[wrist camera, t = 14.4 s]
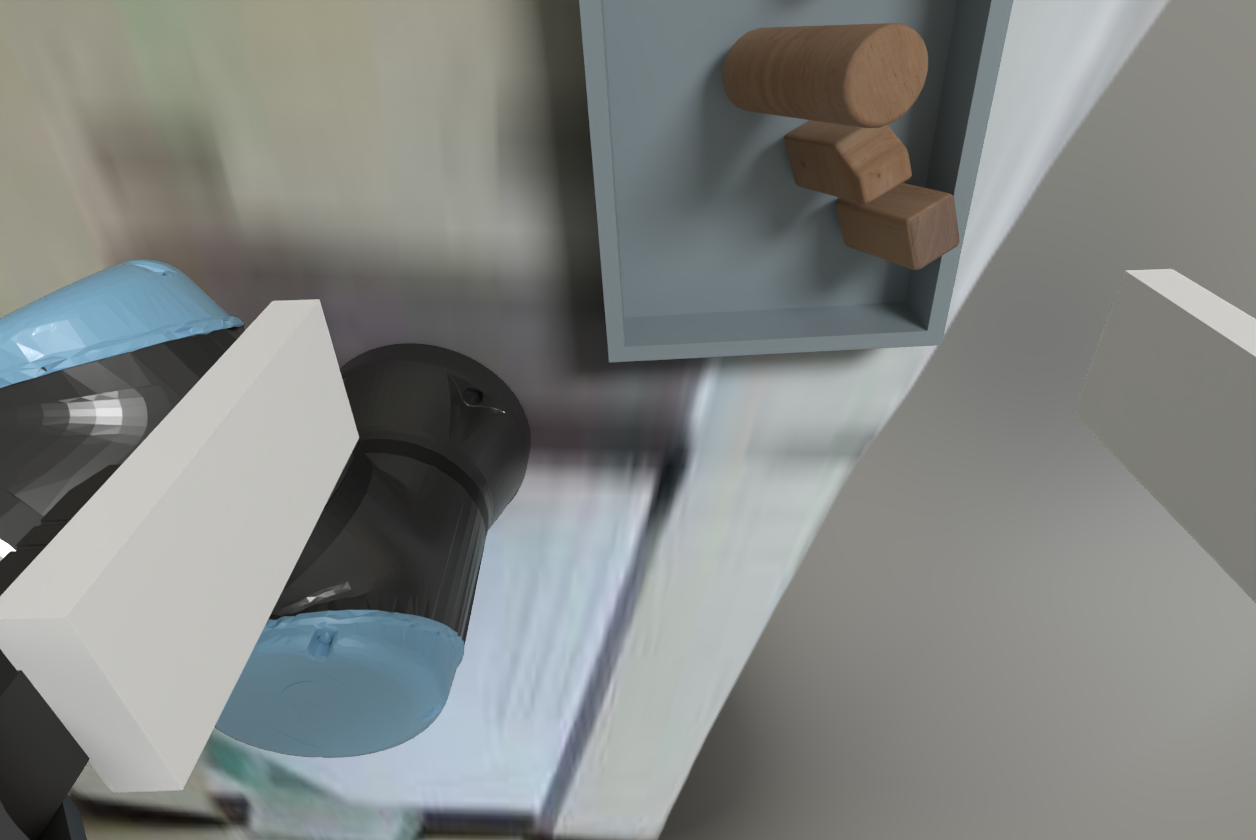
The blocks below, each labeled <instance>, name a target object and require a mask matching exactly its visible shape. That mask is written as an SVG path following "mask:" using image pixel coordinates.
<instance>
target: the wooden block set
mask: <svg viewBox="0 0 1256 840" xmlns="http://www.w3.org/2000/svg"><path fill="white" fill-rule="evenodd" d="M927 71H928V53H927V49H926V46H925V43H924V40H923V39H922V38H921V37H920V35H919V34H918V33H917V31H915V30H914V29H912V28H910V27H909V26H907V25H905V24H900V23H881V24H853V25H824V26H796V27H768V28H758V29H755V30H752V31H749V32H747V33H746V34H745V35H743V36H742V37H741V38H739V39H738V40H737V41H736V43H735V44H734V45H733V47H732V48H731V49H730V51H729V52H728V55H727V57H726V59H725V62H724V65H723V72H722V81H723V88H724V91H725V93H726V95H727V97H728V99H729V100H730V101H731V102H732V103H733V104H734V105H735V106H736V107H737V108H740V109H743V110H745V111H749V112H756V113H763V114H770V115H777V116H784V117H791V118H798V119H805V120H810V121H808V122H806V123H805V124H803V125H801V126H799V127H798V128H796V129H794V130H792V131H791V132H789V133H787V134H786V135H785V136H784V142H785V146H786V149H787V153H788V157H789V161H790V165H791V169H792V172H793V176H794V180H795V183H796V185H797V186H799V187H803V188H806V189H810V190H813V191H817V192H821V193H824V194H828V195H832V196H835V197H839V199H837V200H836V203H835V205H836V210H837V214H838V218H839V222H840V227H841V231H842V235H843V240H844V243H845V244H846V246H848V247H850V248H853V249H856V250H859V251H862V252H864V253H867V254H870V255H873V256H876V257H878V258H881V259H884V260H887V261H890V262H892V263H895V264H898V265H901V266H904V267H906V268H909V269H912V270H919V269H921V268H923V267H925V266H926V265H928V264H929V263H931V262H933V261H934V260H936V259H937V258H939V257H941V256H942V255H944V254H945V253H947V252H949V251H950V250H952V249H953V248H955V247H957V246H958V244H959V242H960V239H959V231H958V224H957V216H956V208H955V201H954V197H953V195H952V194H950V193H946V192H941V191H937V190H932V189H928V188H923V187H919V186H914V185H910V184H905V183H903V182H905V181H906V180H908V179H910V177H911V175H912V172H911V166H910V160H909V154H908V151H907V149H906V147H905V146H904V144H903V143H902V142H901V141H900V139H899V138H898V137H897V136H896V135H895V133H894V132H893V131H892V130H891V128H890V127H889V126H888V124H890V123H893V122H895V121H896V120H897V119H899V118H900V117H901V116H903V115H904V114H905V113H906V112H907V111H908V110H909V109H910V108H911V106H912V105H913V104H914V103H915V101H916V100H917V98H918V96H919V94H920V92H921V90H922V88H923V86H924V84H925V80H926V75H927Z"/></svg>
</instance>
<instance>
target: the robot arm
mask: <svg viewBox="0 0 1256 840" xmlns="http://www.w3.org/2000/svg"><path fill="white" fill-rule="evenodd" d="M244 325H245V324H244V323H243V322H242V321H241V320H240V319H238V318H237V317H233V316H230V315H229V314H228V313H227V312H225V311H224V310H223V309H222V308H221V307H220V306H219V305H218V304H216V303H215V302H214V301H213V300H212V299H211V298H210V297H209V296H208V295H207V294H206V293H205V292H204V291H203V290H202V289H201V288H199V287H198V286H197V285H196V284H195V283H194V282H193V281H192V280H191V279H190V278H189V277H188V276H187V275H185V274H184V273H183V272H182V271H180V270H179V269H177V268H175V267H173V266H171V265H169V264H167V263H164V262H160V261H156V260H147V259H144V260H131V261H127V262H123V263H120V264H117V265H114V266H112V267H109V268H107V269H105V270H102V271H100V272H97V273H95V274H92V275H90V276H88V277H85V278H83V279H81V280H79V281H77V282H74V283H72V284H70V285H68V286H66V287H63V288H61V289H59V290H57V291H55V292H53V293H51V294H48V295H46V296H44V297H42V298H40V299H38V300H36V301H34V302H32V303H30V304H28V305H26V306H24V307H22V308H20V309H18V310H16V311H14V312H12V313H10V314H8V315H6V316H4V317H2V318H0V840H87V839H86V835H85V831H84V826H83V822H82V818H81V814H80V812H79V810H78V809H77V807H76V806H75V804H74V803H73V802H72V800H71V799H70V798H69V796H68V795H67V794H68V792H69V791H70V789H71V788H72V786H73V784H74V783H75V781H76V780H77V778H78V777H79V775H80V773H81V772H82V770H83V769H84V767H85V766H86V764H87V762H89V764H90V765H91V766H92V768H93V769H94V770H95V772H96V773H97V774H98V775H99V777H100V778H101V779H102V781H103V782H104V783H105V784H106V786H107V787H108V788H109V790H110V791H111V792H112V793H118V792H147V791H177V790H183V788H184V786H185V784H186V782H187V780H188V778H189V776H190V774H191V772H192V770H193V768H194V766H195V764H196V762H197V760H198V758H199V756H200V754H201V752H202V750H203V748H204V746H205V744H206V742H207V740H208V738H209V736H210V734H211V732H212V730H213V728H214V727H215V728H216V729H218V730H219V731H221V732H223V733H224V734H226V735H228V736H230V737H232V738H234V739H236V740H238V741H241V742H243V743H246V744H248V745H251V746H254V747H257V748H261V749H264V750H268V751H273V752H277V753H281V754H287V755H294V756H302V757H325V758H335V757H352V756H360V755H366V754H371V753H375V752H379V751H382V750H386V749H389V748H392V747H395V746H397V745H400V744H402V743H404V742H406V741H408V740H410V739H412V738H414V737H415V736H417V735H418V734H420V733H421V732H423V731H424V730H425V729H426V728H427V727H429V726H430V725H431V724H432V723H433V722H434V721H435V719H436V718H437V717H438V715H439V714H440V713H441V711H442V709H443V707H444V706H445V704H446V701H447V699H448V696H449V692H450V689H451V686H452V682H453V679H454V676H455V672H456V669H457V667H458V666H459V664H460V663H461V661H462V657H463V655H464V645H465V640H466V635H467V630H468V625H469V620H470V615H471V610H472V605H473V600H474V595H475V590H476V585H477V580H478V575H479V570H480V565H481V560H482V554H483V549H484V544H485V539H486V535H487V531H488V530H489V529H490V527H491V526H492V525H493V523H494V522H495V521H496V520H497V518H498V517H499V516H500V514H501V513H502V512H503V510H504V509H505V508H506V506H507V505H508V504H509V503H510V502H511V501H512V499H513V498H514V496H515V495H516V493H517V492H518V490H519V488H520V486H521V484H522V482H523V479H524V476H525V473H526V469H527V464H528V458H529V452H530V443H531V442H530V430H529V425H528V421H527V418H526V415H525V413H524V410H523V408H522V406H521V404H520V403H519V401H518V399H517V398H516V396H515V395H514V393H513V392H512V391H511V390H510V388H509V387H508V386H507V385H506V384H505V383H504V382H503V381H502V380H501V379H500V378H499V377H498V376H497V375H495V374H494V373H493V372H492V371H490V370H489V369H488V368H486V367H485V366H483V365H482V364H480V363H478V362H477V361H475V360H473V359H471V358H469V357H467V356H465V355H462V354H460V353H457V352H455V351H452V350H449V349H445V348H441V347H437V346H431V345H424V344H395V345H388V346H383V347H379V348H376V349H373V350H370V351H367V352H365V353H363V354H361V355H359V356H357V357H355V358H354V359H352V360H350V361H349V362H348V363H346V364H345V365H344V366H343V367H342V368H341V369H339V366H338V362H337V359H336V355H335V352H334V348H333V345H332V341H331V338H330V334H329V331H328V327H327V324H326V320H325V317H324V314H323V310H322V307H321V303H320V300H319V299H315V300H287V301H272V302H271V303H270V304H269V305H268V306H267V308H266V309H265V310H264V311H263V312H262V313H261V314H260V315H259V316H258V317H257V318H256V319H255V321H254V322H253V323H252V324H251V325H250V326H249V327H248V328H247V329H246V330H245V329H244V328H243V327H244ZM1073 413H1074V414H1075V415H1076V416H1077V417H1078V418H1079V420H1081V422H1082V423H1083V424H1084V425H1085V426H1086V427H1087V428H1088V429H1089V430H1090V431H1091V432H1092V433H1093V434H1094V435H1095V436H1096V437H1097V438H1098V439H1099V440H1100V441H1101V442H1102V443H1103V445H1104V446H1105V447H1106V448H1107V449H1108V450H1109V451H1110V452H1111V453H1112V454H1113V455H1114V456H1115V457H1116V458H1117V459H1118V460H1119V461H1120V462H1121V463H1122V464H1123V465H1124V466H1125V467H1126V468H1127V470H1128V471H1129V472H1130V473H1131V474H1132V475H1133V476H1134V477H1135V478H1136V479H1137V480H1138V481H1139V482H1140V483H1141V484H1142V485H1143V486H1144V487H1145V488H1146V489H1147V490H1148V491H1149V492H1150V493H1151V494H1152V495H1153V497H1154V498H1155V499H1156V500H1157V501H1158V502H1159V503H1160V504H1161V505H1162V506H1163V507H1164V508H1165V509H1166V510H1167V511H1168V512H1169V513H1170V514H1171V515H1172V516H1173V517H1174V518H1175V519H1176V521H1177V522H1178V523H1179V524H1180V525H1181V526H1182V527H1183V528H1184V529H1185V530H1186V531H1187V532H1188V533H1189V534H1190V535H1191V536H1192V537H1193V538H1194V539H1195V540H1196V541H1197V542H1198V543H1199V545H1200V546H1201V547H1202V548H1203V549H1204V550H1205V551H1206V552H1207V553H1208V554H1209V555H1210V556H1211V557H1212V558H1213V559H1214V560H1215V561H1216V562H1217V563H1218V564H1219V565H1220V566H1221V567H1222V568H1223V569H1224V571H1225V572H1226V573H1227V574H1228V575H1229V576H1230V577H1231V578H1232V579H1233V580H1234V581H1235V582H1236V583H1237V584H1238V585H1239V586H1240V587H1241V588H1242V589H1243V590H1244V591H1245V592H1246V593H1247V594H1248V596H1249V597H1251V599H1252V600H1253V601H1254V602H1255V603H1256V319H1255V318H1253V317H1251V316H1250V315H1248V314H1246V313H1244V312H1243V311H1241V310H1240V309H1238V308H1236V307H1235V306H1233V305H1231V304H1230V303H1228V302H1226V301H1225V300H1223V299H1221V298H1220V297H1218V296H1216V295H1215V294H1213V293H1211V292H1210V291H1208V290H1206V289H1205V288H1203V287H1201V286H1200V285H1198V284H1196V283H1195V282H1193V281H1191V280H1190V279H1188V278H1186V277H1184V276H1183V275H1181V274H1179V273H1178V272H1176V271H1175V270H1173V269H1159V270H1131V271H1125V272H1124V275H1123V278H1122V280H1121V283H1120V286H1119V289H1118V291H1117V294H1116V296H1115V299H1114V302H1113V305H1112V307H1111V310H1110V313H1109V315H1108V318H1107V321H1106V324H1105V326H1104V329H1103V332H1102V334H1101V337H1100V340H1099V343H1098V345H1097V348H1096V351H1095V353H1094V356H1093V359H1092V361H1091V364H1090V367H1089V370H1088V372H1087V375H1086V378H1085V381H1084V383H1083V386H1082V389H1081V391H1080V394H1079V397H1078V399H1077V402H1076V405H1075V408H1074V410H1073Z"/></svg>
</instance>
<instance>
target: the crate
mask: <svg viewBox="0 0 1256 840" xmlns="http://www.w3.org/2000/svg"><path fill="white" fill-rule="evenodd" d="M1012 4H1013V0H579V6H580V18H581V30H582V42H583V54H584V66H585V78H586V90H587V102H588V114H589V126H590V138H591V150H592V162H593V174H594V186H595V199H596V211H597V223H598V235H599V247H600V259H601V271H602V283H603V295H604V307H605V319H606V331H607V343H608V355H609V362H628V361H647V360H666V359H685V358H704V357H723V356H742V355H761V354H780V353H799V352H818V351H837V350H856V349H875V348H894V347H913V346H932V345H942V340H943V335H944V330H945V325H946V321H947V316H948V311H949V306H950V301H951V297H952V292H953V287H954V282H955V277H956V273H957V268H958V263H959V258H960V253H961V249H962V244H963V239H964V234H965V229H966V225H967V220H968V215H969V210H970V205H971V201H972V196H973V191H974V186H975V181H976V177H977V172H978V167H979V162H980V157H981V153H982V148H983V143H984V138H985V133H986V129H987V124H988V119H989V114H990V109H991V105H992V100H993V95H994V90H995V85H996V81H997V76H998V71H999V66H1000V61H1001V57H1002V52H1003V47H1004V42H1005V37H1006V33H1007V28H1008V23H1009V18H1010V13H1011V9H1012ZM881 23H900V24H905V25H907V26H909V27H910V28H912V29H914V30H915V31H917V33H918V34H919V35H920V37H921V38H922V39H923V40H924V43H925V46H926V49H927V53H928V71H927V75H926V80H925V84H924V86H923V88H922V90H921V92H920V94H919V96H918V98H917V100H916V101H915V103H914V104H913V105H912V106H911V108H910V109H909V110H908V111H907V112H906V113H905V114H904V115H903V116H901V117H900V118H899V119H897V120H896V121H895V122H893V123H890V124H888V126H889V127H890V128H891V130H892V131H893V132H894V133H895V135H896V136H897V137H898V138H899V139H900V141H901V142H902V143H903V144H904V146H905V147H906V149H907V151H908V154H909V160H910V166H911V172H912V175H911V177H910V179H908V180H906V181H905V182H903V183H905V184H910V185H914V186H919V187H923V188H928V189H932V190H937V191H941V192H946V193H950V194H952V195H953V197H954V201H955V208H956V216H957V224H958V231H959V239H960V242H959V244H958V246H957V247H955V248H953V249H952V250H950V251H949V252H947V253H945V254H944V255H942V256H941V257H939V258H937V259H936V260H934V261H933V262H931V263H929V264H928V265H926V266H925V267H923V268H921V269H919V270H912V269H909V268H906V267H904V266H901V265H898V264H895V263H892V262H890V261H887V260H884V259H881V258H878V257H876V256H873V255H870V254H867V253H864V252H862V251H859V250H856V249H853V248H850V247H848V246H846V244H845V243H844V240H843V235H842V231H841V227H840V222H839V218H838V214H837V210H836V205H835V203H836V200H837V199H839V197H835V196H832V195H828V194H824V193H821V192H817V191H813V190H810V189H806V188H803V187H799V186H797V185H796V183H795V180H794V176H793V172H792V169H791V165H790V161H789V157H788V153H787V149H786V146H785V142H784V136H785V135H786V134H787V133H789V132H791V131H792V130H794V129H796V128H798V127H799V126H801V125H803V124H805V123H806V122H808V121H810V120H805V119H798V118H791V117H784V116H777V115H770V114H763V113H756V112H749V111H745V110H743V109H740V108H737V107H736V106H735V105H734V104H733V103H732V102H731V101H730V100H729V99H728V97H727V95H726V93H725V91H724V88H723V81H722V72H723V65H724V62H725V59H726V57H727V55H728V52H729V51H730V49H731V48H732V47H733V45H734V44H735V43H736V41H737V40H738V39H739V38H741V37H742V36H743V35H745V34H746V33H747V32H749V31H752V30H755V29H758V28H768V27H796V26H824V25H853V24H881Z"/></svg>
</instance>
